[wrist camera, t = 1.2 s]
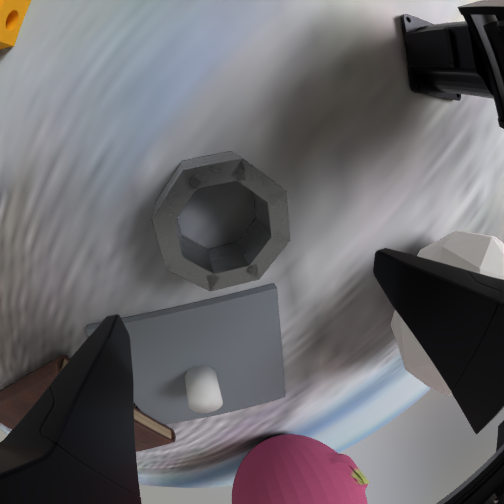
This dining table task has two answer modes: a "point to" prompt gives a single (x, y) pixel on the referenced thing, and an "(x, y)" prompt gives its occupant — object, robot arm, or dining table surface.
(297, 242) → the dining table surface
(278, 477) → the pink dragon fruit
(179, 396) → the gray square plate
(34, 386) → the notebook
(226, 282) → the ring
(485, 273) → the geodesic sphere
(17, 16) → the pipe clamp
